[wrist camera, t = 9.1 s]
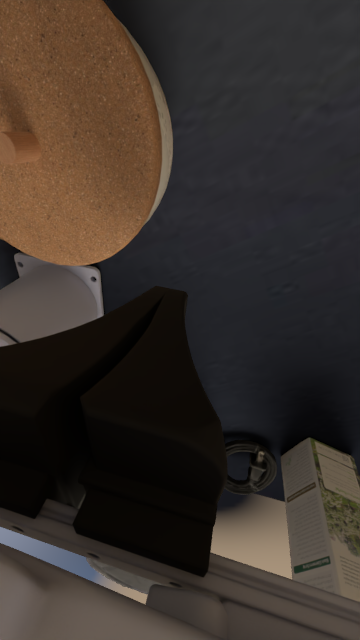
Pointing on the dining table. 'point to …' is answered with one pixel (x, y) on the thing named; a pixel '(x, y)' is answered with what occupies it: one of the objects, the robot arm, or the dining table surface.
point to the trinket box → (77, 131)
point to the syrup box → (323, 517)
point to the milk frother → (258, 462)
